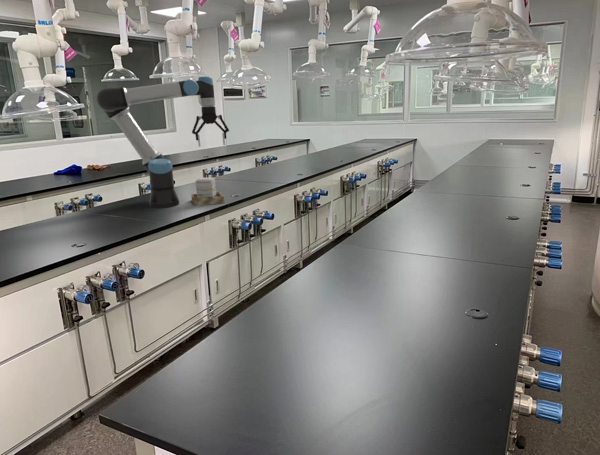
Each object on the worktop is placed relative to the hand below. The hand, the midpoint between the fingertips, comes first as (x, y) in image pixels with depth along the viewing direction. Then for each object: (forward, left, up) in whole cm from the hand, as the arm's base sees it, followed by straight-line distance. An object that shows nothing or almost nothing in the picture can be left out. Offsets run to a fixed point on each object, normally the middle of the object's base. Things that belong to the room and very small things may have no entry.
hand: (212, 145), depth 250 cm
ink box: (-7, -16, -27) cm, 32 cm away
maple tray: (-7, -16, -28) cm, 33 cm away
